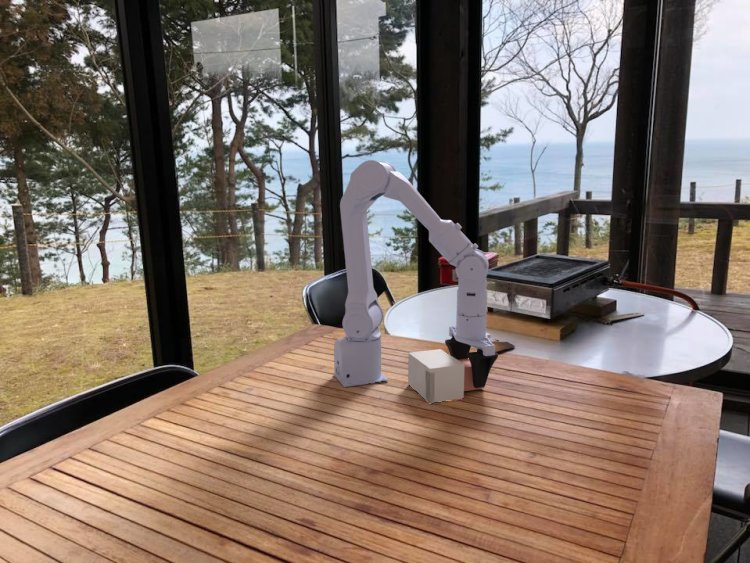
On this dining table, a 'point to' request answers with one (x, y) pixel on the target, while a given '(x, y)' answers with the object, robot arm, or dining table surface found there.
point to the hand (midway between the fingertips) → (469, 380)
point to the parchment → (501, 345)
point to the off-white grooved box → (436, 375)
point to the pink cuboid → (468, 375)
